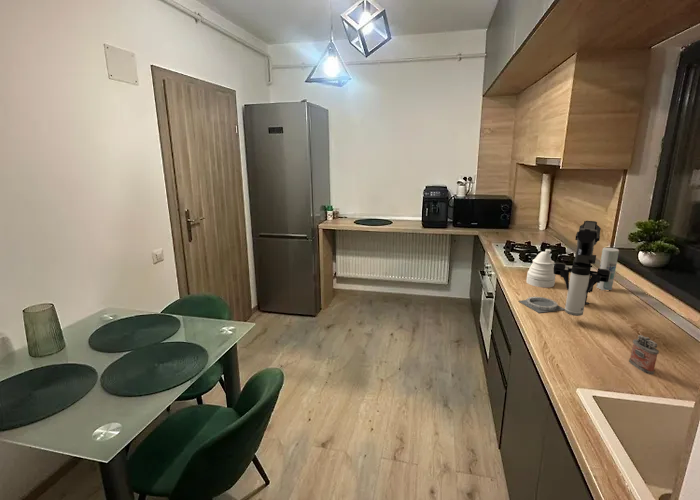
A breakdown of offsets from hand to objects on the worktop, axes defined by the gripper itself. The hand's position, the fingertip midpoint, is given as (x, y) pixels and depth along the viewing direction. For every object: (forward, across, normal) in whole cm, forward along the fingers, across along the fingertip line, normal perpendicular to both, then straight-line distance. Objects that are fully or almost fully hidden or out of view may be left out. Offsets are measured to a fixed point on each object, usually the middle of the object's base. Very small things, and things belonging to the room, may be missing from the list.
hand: (577, 291), depth 146 cm
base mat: (+1, -13, +18) cm, 22 cm away
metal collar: (+1, -13, +18) cm, 22 cm away
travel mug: (+6, 0, +8) cm, 10 cm away
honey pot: (-21, -18, +40) cm, 49 cm away
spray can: (-26, +9, +46) cm, 54 cm away
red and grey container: (+26, +21, -8) cm, 35 cm away
